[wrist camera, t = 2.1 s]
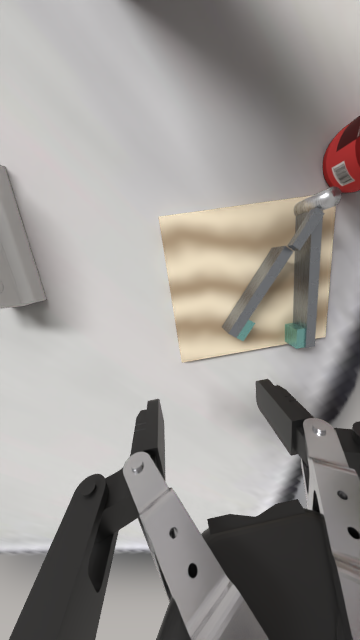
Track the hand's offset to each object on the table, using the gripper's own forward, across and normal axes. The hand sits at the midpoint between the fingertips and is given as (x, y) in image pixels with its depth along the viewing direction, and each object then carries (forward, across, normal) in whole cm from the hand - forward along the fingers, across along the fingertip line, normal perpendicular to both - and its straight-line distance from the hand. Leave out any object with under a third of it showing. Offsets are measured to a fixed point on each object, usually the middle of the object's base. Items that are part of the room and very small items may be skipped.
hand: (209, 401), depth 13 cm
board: (+18, -11, -4) cm, 21 cm away
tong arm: (+16, -12, -5) cm, 21 cm away
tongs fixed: (+17, -18, -4) cm, 24 cm away
